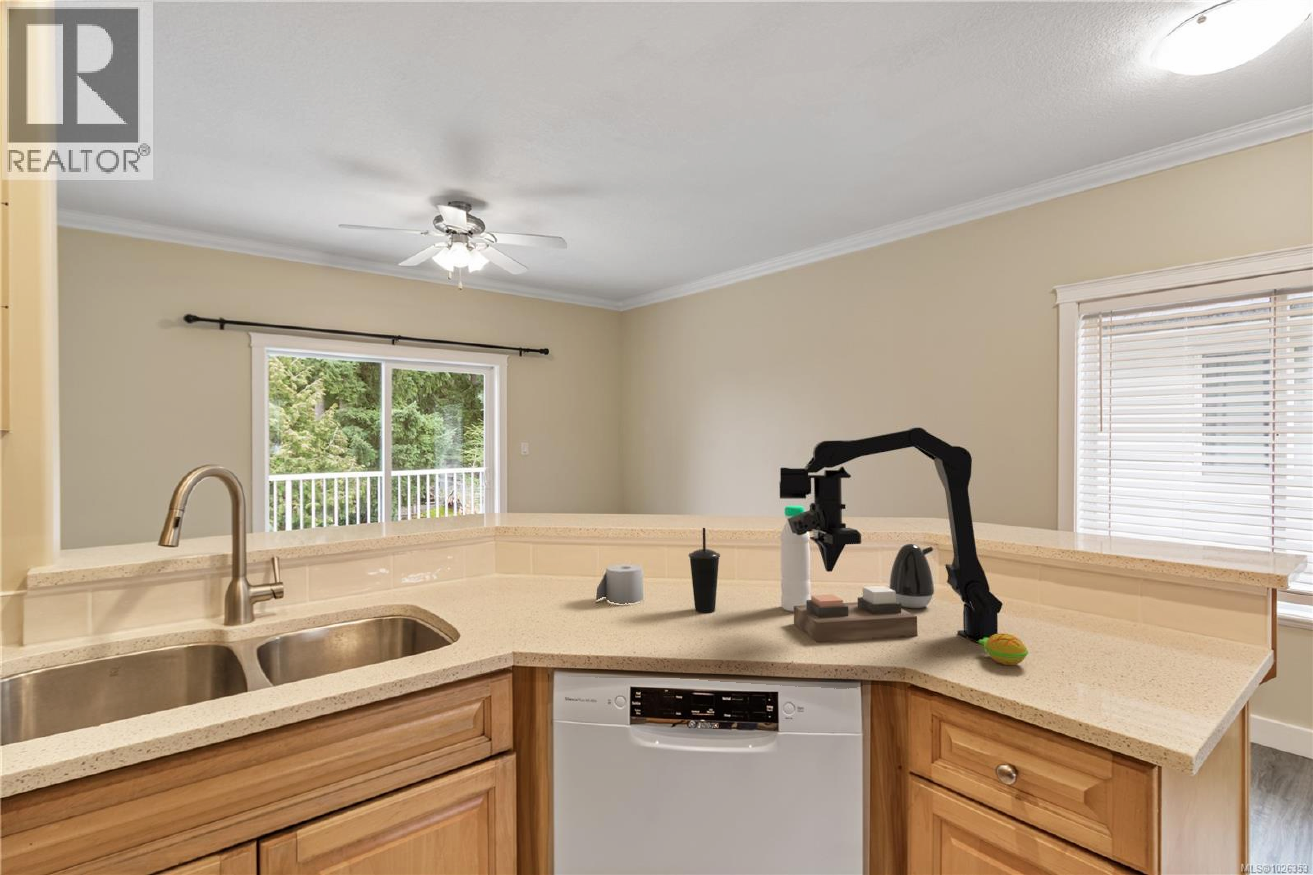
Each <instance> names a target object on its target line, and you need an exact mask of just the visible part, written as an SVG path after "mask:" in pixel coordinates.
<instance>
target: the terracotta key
mask: <svg viewBox="0 0 1313 875" xmlns="http://www.w3.org/2000/svg"><path fill="white" fill-rule="evenodd" d="M810 598H811V602H812V603H814V604H815V605H817V606H819V607H836V606H843V603H844V600H843V599H842V598H841V597H839V596H836V595H835V594H816V595H815V594H813V595H810Z"/></svg>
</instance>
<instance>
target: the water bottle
mask: <svg viewBox="0 0 1313 875" xmlns="http://www.w3.org/2000/svg"><path fill="white" fill-rule="evenodd" d="M805 510H806V509H805V507H804V506H802V505H787V506H786V507H784V516H785V518H786V521H785V524H784V526H783V529H782V530H781V533H780V536H779V537H780V542H781V544H780V573H781V582H780V587H781V595H780V596H781V597H780V599H781V600H780V601H781V602H780V605H781V608H782V609H783V610H785V611H787V612H793V613H794V606H800V605H806V600H811V580H810V576H811V551H810V549H811V548H810V540H811V539H810V537H811V536H810V535H811V534H810V532H807V533H805V534H803V535H797V534H796V533H792V530H791V527H790V525H789V522H788V519H789V518H791V517H793V516H796V515H798V514H801V513H803V512H806V511H805Z"/></svg>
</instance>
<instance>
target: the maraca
mask: <svg viewBox="0 0 1313 875" xmlns="http://www.w3.org/2000/svg"><path fill="white" fill-rule="evenodd" d="M977 643H978V644H980V645H983V649H984V650H985V651H986V653H987V655H988V656H989V657H990V658H991V659H992V660H994V661H995V662H997V663H998V664H1002V665H1004V666H1014V665H1016V666H1017V665H1018V664H1020V663H1022V662H1023V661H1024V660H1025V658H1026V657H1027V655H1028V654H1029V650H1028V649H1027V647H1026V645H1025V644H1024V642H1023V641H1021V639H1019V638H1018V637H1016V636H1015V635H1013V634H1011V633H1010V634H1009V633H1007V632H998V634H994V635H992V636H991V637H990V638H986V637H985V638H983V640H979V641H978V642H977Z"/></svg>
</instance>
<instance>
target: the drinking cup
mask: <svg viewBox="0 0 1313 875" xmlns="http://www.w3.org/2000/svg"><path fill="white" fill-rule="evenodd" d="M706 535H707V534H706V527H702V548H700V549H696V550H694V551H693V552H690V553H688V558H689V560H690V573H691V582H692V592H693V593H692V594H693V602H694V611H695V612H697V613H700V614H710V613H714V612H715V611H716V602H717V591H718V590H717V589H718V579H719V578H718V575H719V574H718V573H719V562H720V557H721V554H720V553H719V552H716V551H715V550H713V549H708V548H707V547H706V541H707V540H706V538H707V536H706Z"/></svg>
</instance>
